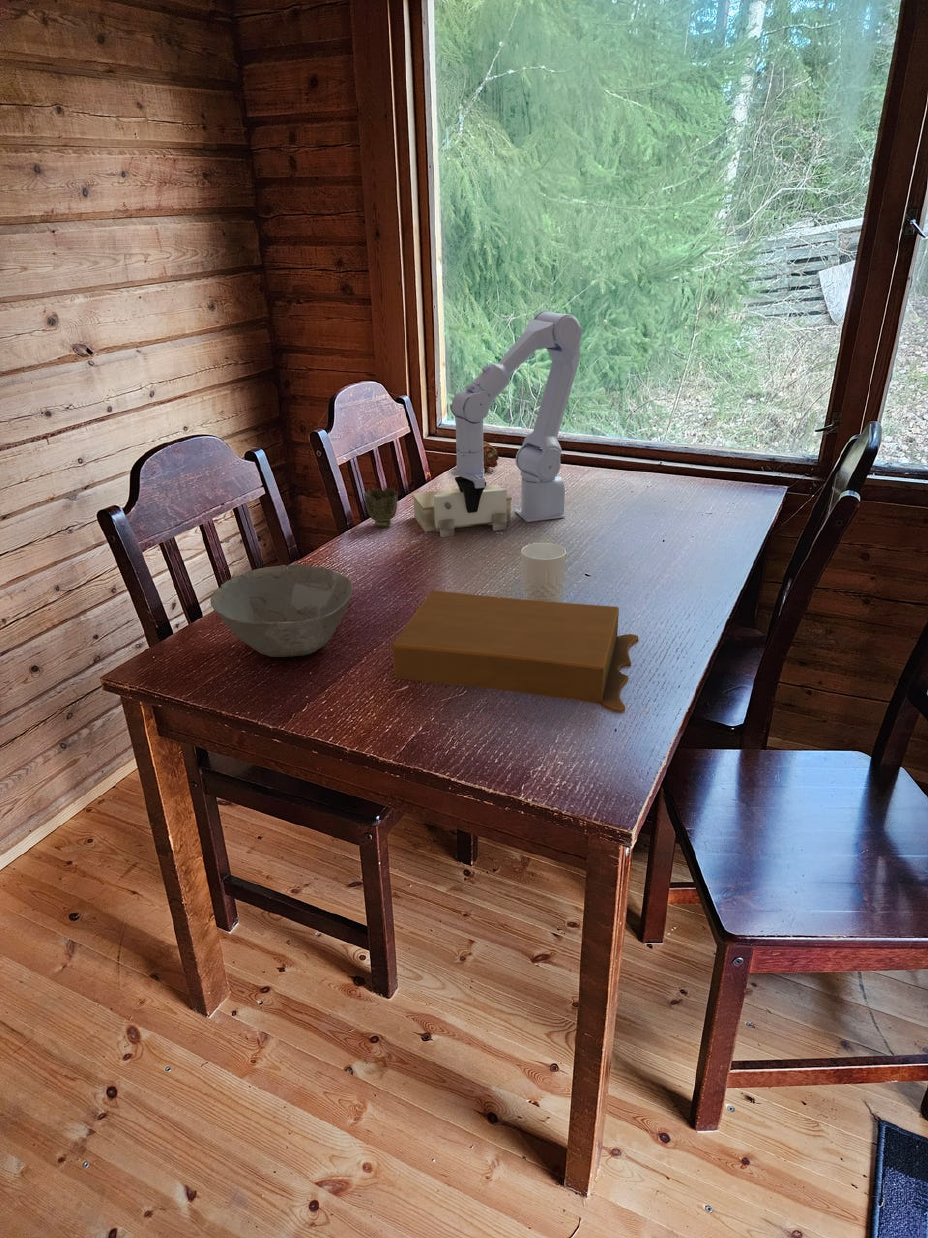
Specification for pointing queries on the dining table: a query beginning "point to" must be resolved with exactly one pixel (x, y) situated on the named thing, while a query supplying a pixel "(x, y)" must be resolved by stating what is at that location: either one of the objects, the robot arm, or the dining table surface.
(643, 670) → the dining table surface
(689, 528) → the dining table surface
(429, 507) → the cabinet
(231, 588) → the ceramic bowl
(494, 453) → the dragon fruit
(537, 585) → the white cup
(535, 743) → the dining table surface
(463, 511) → the door
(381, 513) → the cup
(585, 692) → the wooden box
